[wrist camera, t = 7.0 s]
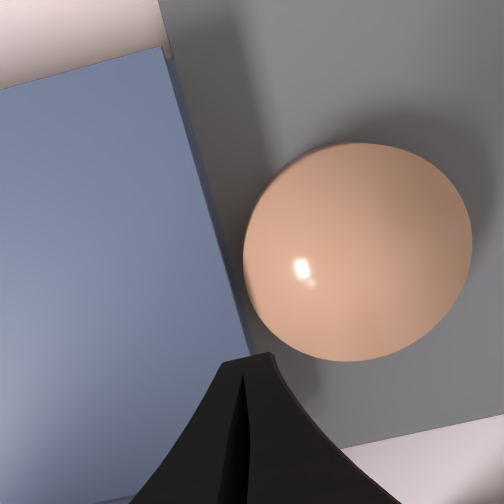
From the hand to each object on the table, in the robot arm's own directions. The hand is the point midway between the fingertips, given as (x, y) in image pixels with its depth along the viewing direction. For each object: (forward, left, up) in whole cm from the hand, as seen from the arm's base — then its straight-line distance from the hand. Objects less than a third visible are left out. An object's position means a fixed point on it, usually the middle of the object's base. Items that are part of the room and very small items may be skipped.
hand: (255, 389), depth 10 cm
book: (0, +7, -8) cm, 11 cm away
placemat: (0, -6, -8) cm, 10 cm away
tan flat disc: (0, -4, -8) cm, 9 cm away
